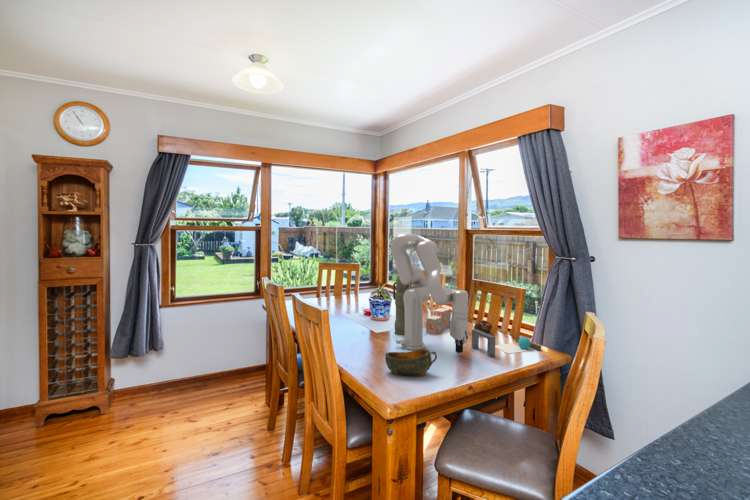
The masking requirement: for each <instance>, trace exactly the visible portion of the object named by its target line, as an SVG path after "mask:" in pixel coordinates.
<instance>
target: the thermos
mask: <svg viewBox="0 0 750 500" xmlns="http://www.w3.org/2000/svg"><path fill="white" fill-rule="evenodd" d="M392 285H393V286H392V288H393V289H392V294H393V295H392V297H393V298H392V299H393V300H394V304H395V320H394V334H395V335H398V336H405V307H404V300H403V296H404V293H405V291H406V290H407V289H408V288H410V287H411V285H404V284H403V283H402V282H401V280H400V277H399V274H397V276H396V280H395V282H394V283H393V284H392Z"/></svg>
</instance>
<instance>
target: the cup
mask: <svg viewBox="0 0 750 500" xmlns="http://www.w3.org/2000/svg"><path fill="white" fill-rule="evenodd" d="M431 355H434V358H433V360H432V357H431ZM384 357H385V363H386V366H387V368H388V369H389V371H390V372H391V374H392V375H395V376H398V377H406V378H421V377H424V376H425V375H426V373H427V372H428V371H429V370H430V368H431V367H432V365H433V364H434V363H435V362H436V360H437V359H438V355H437V352H436V351H433V350H432V351H430V350H428V349H427V348H426V349H425V348H423V349H420V350H410V351H402V352H397V351H395V352H393V351H392V352H389V351H388V352H385V353H384Z"/></svg>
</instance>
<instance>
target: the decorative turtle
mask: <svg viewBox="0 0 750 500" xmlns="http://www.w3.org/2000/svg"><path fill="white" fill-rule="evenodd" d="M492 328H493V325H492V324H491V323H490V322H489V321H486V320H479V321H478V322H475V324H474V326H473V330H474V329H477V330H480V331H482V332H485V333H487V334H490V332H491V331H492Z"/></svg>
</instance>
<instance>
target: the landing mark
mask: <svg viewBox="0 0 750 500" xmlns="http://www.w3.org/2000/svg"><path fill="white" fill-rule="evenodd" d="M495 349H496V350H500V351H501V352H504V353H506V354H510V355H511V354H518V353H525V352H529V350H528V349H522V348H520V347H519V345H518V344H513V343H504V344H495Z"/></svg>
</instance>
